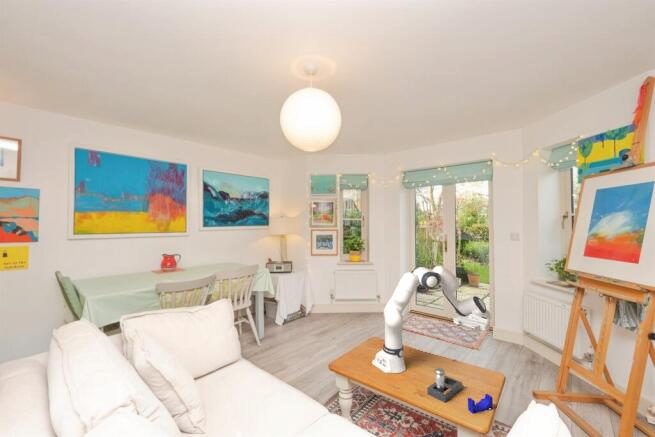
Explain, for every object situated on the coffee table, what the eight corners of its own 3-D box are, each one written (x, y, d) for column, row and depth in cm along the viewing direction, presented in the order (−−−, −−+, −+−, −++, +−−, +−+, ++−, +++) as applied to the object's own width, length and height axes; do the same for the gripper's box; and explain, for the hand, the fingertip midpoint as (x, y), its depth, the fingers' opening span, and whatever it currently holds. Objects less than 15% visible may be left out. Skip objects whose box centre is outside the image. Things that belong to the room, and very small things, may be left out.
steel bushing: (433, 394, 157) (432, 370, 157) (438, 391, 160) (437, 367, 160) (442, 398, 153) (441, 374, 153) (447, 395, 156) (446, 370, 157)
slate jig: (427, 394, 158) (427, 387, 158) (445, 381, 170) (444, 375, 170) (445, 402, 150) (444, 395, 150) (462, 388, 162) (461, 381, 162)
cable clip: (485, 404, 148) (485, 392, 148) (492, 409, 144) (492, 397, 144) (466, 408, 145) (465, 396, 145) (472, 414, 141) (472, 401, 141)
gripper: (458, 312, 192) (448, 317, 183) (492, 319, 176) (482, 325, 167) (459, 321, 192) (448, 327, 183) (492, 330, 176) (482, 336, 167)
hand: (465, 326), depth 175 cm, fingers open, 8 cm apart
